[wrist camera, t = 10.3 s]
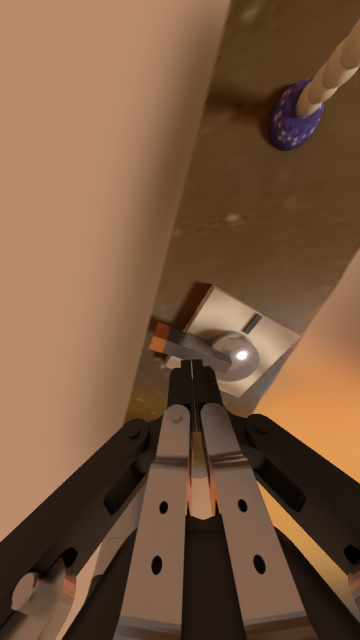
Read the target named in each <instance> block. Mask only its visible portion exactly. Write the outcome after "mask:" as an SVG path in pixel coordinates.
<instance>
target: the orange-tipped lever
mask: <svg viewBox="0 0 360 640" xmlns="http://www.w3.org/2000/svg"><path fill="white" fill-rule="evenodd" d="M149 349H152V350H155V351H157V352H160V353H165V354H168V355H171V356H174V357H177V358H180V359H183V360H191V363H192V359H202V362H203V366H211V368H212V369H213V370H214V371H215V375H216V379H219V380H221V381H226V382H234V381H239V380H242V379H245V378H247V377H248V376H250V375H251V374H252V373H253V372H254V371H255V370H256V369H257V367H258V365H259V360H260V357H259V353H258V351H257V349H256V348H255V346H254V345H253V343H252V342H251V340H250V339H249V338H248V337H247V336H245V335H243V334H240V333H236V332H228V333H223V334H220V335H218V336H216V337H215V338H213V339H212V340H211V341H207V340H205V339H202V338H199V337H197V336H194V335H191V334H188V333H186V332H183V331H180V330H177V329H175V328H172V327H170V326H168V325H165V324H163V323H160V322H158V324H157V327H156V330H155V332H154V335H153V338H152V341H151V344H150V347H149Z"/></svg>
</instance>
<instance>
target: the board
mask: <svg viewBox="0 0 360 640" xmlns="http://www.w3.org/2000/svg"><path fill="white" fill-rule="evenodd" d="M183 332H186V333H188V334H191V335H194V336H197V337H199V338H202V339H205V340H207V341H211V340H212V339H213V338H215V337H216V336H218V335H220V334H223V333H228V332H236V333H240V334H243V335H245V336H247V337H248V338H249V339H250V340H251V342H252V343H253V345H254V346H255V348H256V349H257V351H258V353H259V357H260V360H259V365H258V367H257V369H256V370H255V371H254V372H253V373H252V374H251V375H250V376H248V377H247V378H245V379H242V380H239V381H234V382H226V381H221V380H219V379H217V383H218V387H219V389H220V390H222V391H225V392H227V393H229V394H232V395H234V396H236V397H240V396H241V395H242V394H243V393H244V392H245V391H246V390H247V389H248V388H249V387H250V386H251V385H252V384H253V383H254V382H255V381H256V380H257V379H258V378H259V377H260V376H261V375H262V374H263V373H264V372H265V371H266V370H267V369H268V368H269V367H270V366H271V365H272V364H273V363H274V362H275V361H276V360H277V359H278V358H279V357H280V356H281V355H282V354H283V353H284V352H285V351H286V350H287V349H289V348H290V347H291V346H292V345H293V344H294V343H295V342H296V341H297V340H298V339H299V338H300V337H301V336H300V335H299V334H298V333H297V332H295V331H294V330H293V329H292V328H290V327H288V326H286V325H284V324H283V323H281V322H279V321H277V320H275V319H274V318H272V317H270V316H268V315H267V314H265V313H263V312H261V311H259V310H258V309H256V308H254V307H252V306H250V305H249V304H247V303H245V302H243V301H242V300H240V299H238V298H236V297H234V296H233V295H231V294H229V293H227V292H225V291H224V290H222V289H220V288H218V287H217V286H215V285H213V284H212V286H211V287H210V289H209V290H208V292H207V294H206V295H205V297H204V298H203V300H202V301H201V303H200V305H199V306H198V308H197V309H196V311H195V313H194V314H193V316H192V317H191V319H190V321H189V322H188V324H187V325H186V327H185V329H184V330H183ZM181 360H183V359H180V358H177V357H174V356H171V355H168V356H167V357H166V362H165V366H167V367H169V368H171V369H173V368H181ZM191 369H192V363H191ZM192 378H193V374H192Z"/></svg>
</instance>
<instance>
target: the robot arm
mask: <svg viewBox="0 0 360 640" xmlns="http://www.w3.org/2000/svg"><path fill="white" fill-rule="evenodd" d="M192 374H193V381H192ZM193 388H194V394H193ZM194 400H195V408H194ZM195 412H196V424H197V432H199V431H201V439H202V450H203V456H204V462H205V468H206V474H207V480H208V485H209V491H210V500H211V508H212V515H213V517H210V518H208V519H205V520H201V519H198V518H196V517H193V516H192V446H193V432H196V424H195ZM256 480H257V481H258V482H259V483H260V484H261V485H262V486H263V487H264V488H265V489H266V490H267V491H268V493H269V494H270V495H271V496H272V497H273V498H274V499H275V500H276V501H277V502H278V503H279V504H280V505H281V506H282V507H283V508H284V509H285V510H286V512H287V513H288V514H289V515H290V516H291V517H292V518H293V519H294V520H295V521H296V522H297V523H298V524H299V525H300V526H301V527H302V528H303V529H304V531H306V533H307V534H308V535H309V536H310V537H311V538H312V539H313V540H314V541H315V542H316V543H317V544H318V545H319V546H320V547H321V548H322V549H323V550H324V552H325V553H326V554H327V555H328V556H329V557H330V558H331V559H332V560H333V561H334V562H335V563H336V564H337V565H338V566H339V567H340V568H341V570H343V572H344V573H345V574H346V575H347V576H348V582H349V587H350V590H351V593H352V595H353V598H354V600H355V602H356V604H357V606H358V608H359V610H360V484H359V483H358V482H357V481H355V480H354V479H353V478H351V477H350V476H348V475H347V474H345V473H344V472H343V471H341V470H340V469H339V468H337V467H336V466H335V465H333V464H332V463H330V462H329V461H328V460H326V459H325V458H323V457H322V456H321V455H319V454H318V453H316V452H315V451H314V450H312V449H311V448H310V447H308V446H307V445H305V444H304V443H302V442H301V441H300V440H298V439H297V438H296V437H294V436H293V435H291V434H290V433H289V432H287V431H286V430H285V429H283V428H282V427H280V426H279V425H278V424H276V423H275V422H273V421H272V420H271V419H269V418H268V417H266V416H264V415H261V414H252V415H250V416H248V418H243V417H239V416H236V415H233V414H232V413H230V412H229V411H228V410H227V409H226V408H225V407H224V405H223V402H222V399H221V395H220V391H219V387H218V383H217V379H216V375H215V371H214V370H213V369H212V368H211V366H203V362H202V359H192V369H191V360H181V368H173V370H172V371H171V373H170V382H169V393H168V405H167V409H166V411H165V413H164V414H163V415H162V416H161V417H160V418H158V419H156V420H153V421H151V422H148V423H146V421H145V420H143V419H139V418H137V419H133V420H130V421H129V422H127V423H126V424H125V425H124V426H123V427H122V428H121V429H120V430H119V431H118V432H117V433H115V434H114V435H113V436H112V437H111V438H110V439H109V440H108V441H107V442H106V443H105V444H104V445H103V446H102V447H101V448H100V449H99V450H98V451H96V452H95V454H93V455H92V456H91V457H90V458H89V459H88V460H87V461H86V462H85V463H84V464H83V465H82V466H81V467H80V468H78V470H77V471H75V472H74V473H73V474H72V475H71V476H70V477H69V478H68V479H67V480H66V481H65V482H64V483H63V484H62V485H61V486H59V487H58V488H57V489H56V490H55V491H54V492H53V493H52V494H51V495H50V496H49V497H48V498H47V499H46V500H45V501H44V502H43V503H42V504H40V505H39V506H38V507H37V508H36V509H35V510H34V511H33V512H32V513H31V514H30V515H29V516H28V517H27V518H26V519H25V520H24V521H22V522H21V523H20V524H19V525H18V526H17V527H16V528H15V529H14V530H13V531H12V532H11V533H10V534H9V535H8V536H7V537H6V538H5V539H3V540H2V541H1V542H0V640H55V639H56V636H57V635H58V633H59V631H60V629H61V627H62V626H63V624H64V622H65V621H66V618H67V616H68V614H69V612H70V609H71V606H72V603H73V600H74V596H75V591H76V576H77V575H78V573H79V572H80V571H81V569H82V568H83V567H84V565H85V564H86V563H87V561H88V560H89V559H90V557H91V556H92V554H93V553H94V552H95V550H96V549H97V547H98V546H99V545H100V543H101V542H102V545H101V548H100V552H99V555H98V559H97V563H96V566H95V570H94V573H93V579H92V580H91V584H90V588H89V591H88V595H87V597H86V600H85V603H84V605H83V606H82V608H81V610H80V611H79V613H78V614H77V616H76V618H75V619H74V621H73V622H72V624H71V625H70V627H69V629H68V630H67V632H66V633H65V635H64V636H63V638H62V640H360V623H359V621H358V620H357V619H356V618H355V617H354V616H353V614H352V613H351V612H350V611H349V609H348V608H347V607H346V606H345V605H344V604H343V602H342V601H341V600H340V599H339V597H338V596H337V595H336V594H335V593H334V592H333V590H332V589H331V588H330V587H329V585H328V584H327V583H326V582H325V581H324V580H323V578H322V577H321V576H320V575H319V573H318V572H317V571H316V570H315V569H314V568H313V566H312V565H311V564H310V563H309V561H308V560H307V559H306V558H305V557H304V555H303V554H302V553H301V552H300V551H299V549H298V548H297V547H296V546H295V545H294V544H293V542H292V541H291V540H290V539H289V538H287V536H285V534H283V533H282V532H281V531H280V530H279V529H277V528H276V527H274V526H273V524H272V521H271V519H270V516H269V513H268V511H267V508H266V505H265V503H264V500H263V497H262V495H261V492H260V490H259V487H258V484H257V481H256Z"/></svg>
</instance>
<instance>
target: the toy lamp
mask: <svg viewBox="0 0 360 640" xmlns="http://www.w3.org/2000/svg"><path fill="white" fill-rule="evenodd" d="M359 66H360V19H359V21H358V22H357V23H356V24H355V26H354V27H353V29H352V30H351V32H350V34H349V36H348V37H347V38H345V39H344V40H343V41H342V42H341V43H340V44H339V45H338V47H337V48H336V49H335V50H334V52H333V53H332V55H331V56H330V58H329V60H328V62H327V63H325V64H324V65H323V66H322V67H321V68H320V70H319V71H318V72H317V74H316V75H315V77H314V78H313V80H311V79H304V80H300V81H298V82H296V83H294V84H293V85H292V86H290V87H289V88H288V89H287V90H285V92H284V93H283V94H282V95H281V96H280V98H279V99H278V101H277V103H276V104H275V106H274V109H273V111H272V115H271V119H270V136H271V139H272V141H273V143H274V144H275V145H276V147H277V148H279V149H281V150H285V151H287V150H293V149H295V148H298V147H299V146H301V145H302V144H303V143H304V142H305V141H306V140H307V139H308V138H309V137H310V135H311V134H312V133H313V131H314V130H315V128H316V126H317V124H318V122H319V120H320V118H321V115H322V111H323V106H324V101H326V100H327V99H328V98H329V97H330V96H332V95H333V94H334V92H335V91H336V90H337V89H338V87H339V86H341V85H342V84H344V83H345V82H346V81H347V80H348V79H349V78H350V77H351V76H352V75H353V74H354V73H355V72H356V70H357V69H358V68H359Z"/></svg>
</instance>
